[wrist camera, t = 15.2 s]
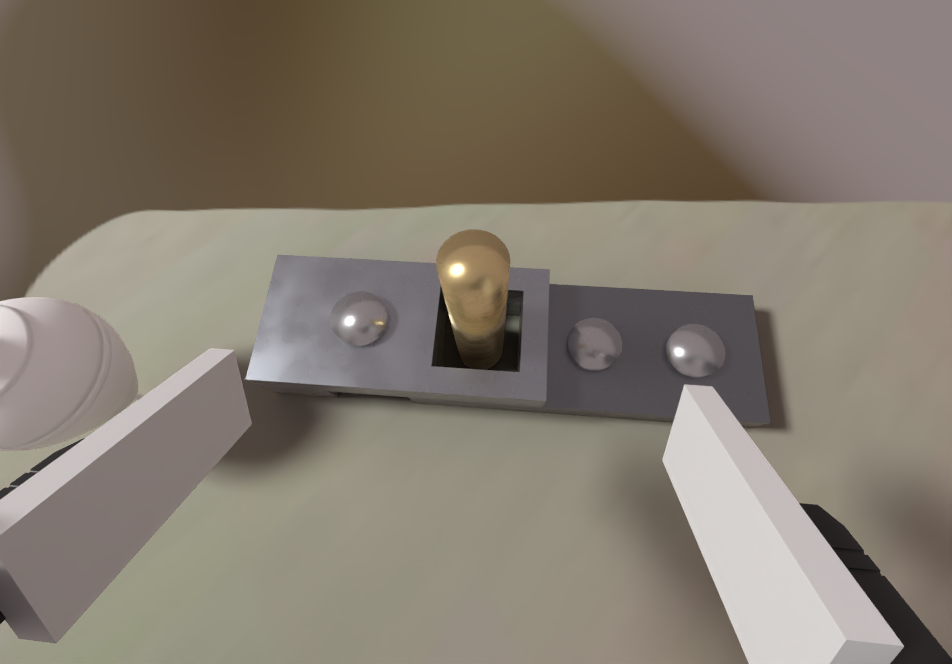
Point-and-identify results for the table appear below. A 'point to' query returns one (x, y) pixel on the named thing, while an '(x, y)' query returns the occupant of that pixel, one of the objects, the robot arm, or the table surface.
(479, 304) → the brass link pin
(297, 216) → the table surface
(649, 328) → the lower chain end
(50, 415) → the spinning top
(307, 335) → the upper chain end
